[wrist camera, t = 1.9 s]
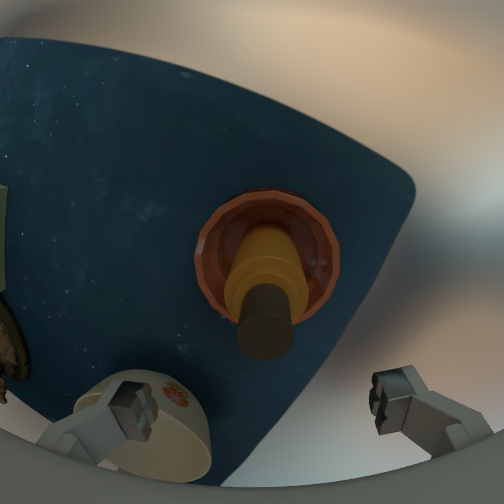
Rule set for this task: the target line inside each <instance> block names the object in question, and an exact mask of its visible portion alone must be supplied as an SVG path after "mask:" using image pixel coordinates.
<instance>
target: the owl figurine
mask: <svg viewBox="0 0 504 504" xmlns="http://www.w3.org/2000/svg"><path fill="white" fill-rule="evenodd" d="M3 302H4V301H3V299H2V298H1V297H0V402H1V403H2V404H6V403H7V399H6V398H5V394H6V390H7V389H6V386H5V383H4V380H3V378H1V372H2V373H3V374H5V375H6V376H7V377H9V378H12V379H16V380H19V381H21V380H24V379H25V378H26V377H27V376H28V375H29V373H30V363H28V364H26V365H25V366H24V364H25V363H26V362H29V353H28V350H27V346H26V343H25V340H24V337H23V335H22V332H21V330H20V327H19V325H18V323H17V321H16V319H15V317H14V315H13V313H12V312H11V310H10V309H9V307H8V306H7V305H6V304H5V305H4V303H3Z"/></svg>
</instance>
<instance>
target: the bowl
mask: <svg viewBox="0 0 504 504" xmlns="http://www.w3.org/2000/svg"><path fill="white" fill-rule="evenodd" d="M114 379H115V380H123V381H133V382H142V383H148V384H150V387H151V389H152V393H151V396H152V397H153V398H154V399H156V402H157V405H158V417H157V419H156V422H155V423H153V424H152V425H150V426H151V429H152V431H151V434H150V436H149V439H148V441H147V442H142V441H135V440H128V439H127V441H126V442H125V443H124V444H123V445H121V446H120V447H119V448H118V449H116V450H115V451H114V452H112V453H111V454H110V455H109V456H107V457H106V459H107V460H109V461H110V462H112V463H113V464H115V465H116V466H119V467H120V468H122V469H124V470H126V471H128V472H130V473H133V474H135V475H138V476H141V477H146V478H152V479H158V480H164V481H171V482H178V483H183V482H189V481H193V480H196V479H199V478H201V477H202V476H204V475H205V474H206V473H207V472H208V471H209V469H210V466H211V447H210V436H209V428H208V422H207V418H206V415H205V413H204V411H203V408H202V407H201V405H200V403H199V402H198V400H197V399H196V398H195V397H194V395H193V394H192V393H191V392H190V391H189V390H188V389H187V388H185V387H184V386H183V385H182V384H180V383H179V382H178V381H177V380H175V379H174V378H172V377H171V376H169V375H166V374H163V373H159V372H154V371H149V370H141V369H133V370H126V371H121V372H118V373H115V374H113V375H111V376H109V377H107V378H106V379H104V380H103V381H101V382H100V383H99V384H97V385H96V386H94V387H93V388H92V389H91V390H89V391H88V392H87V393H85V394H84V395H83V396H82V397H80V398H79V399H78V400H77V402H76V404H75V406H74V413H76V412H78V411H80V410H81V409H83V408H85V407H87V406H89V405H91V404H96V403H97V401H98V400H99V398H100V397H101V395H102V394H103V392H104V391H105V389H106V388H107V386H108V385H109V383H110V382H111V381H112V380H114Z"/></svg>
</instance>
